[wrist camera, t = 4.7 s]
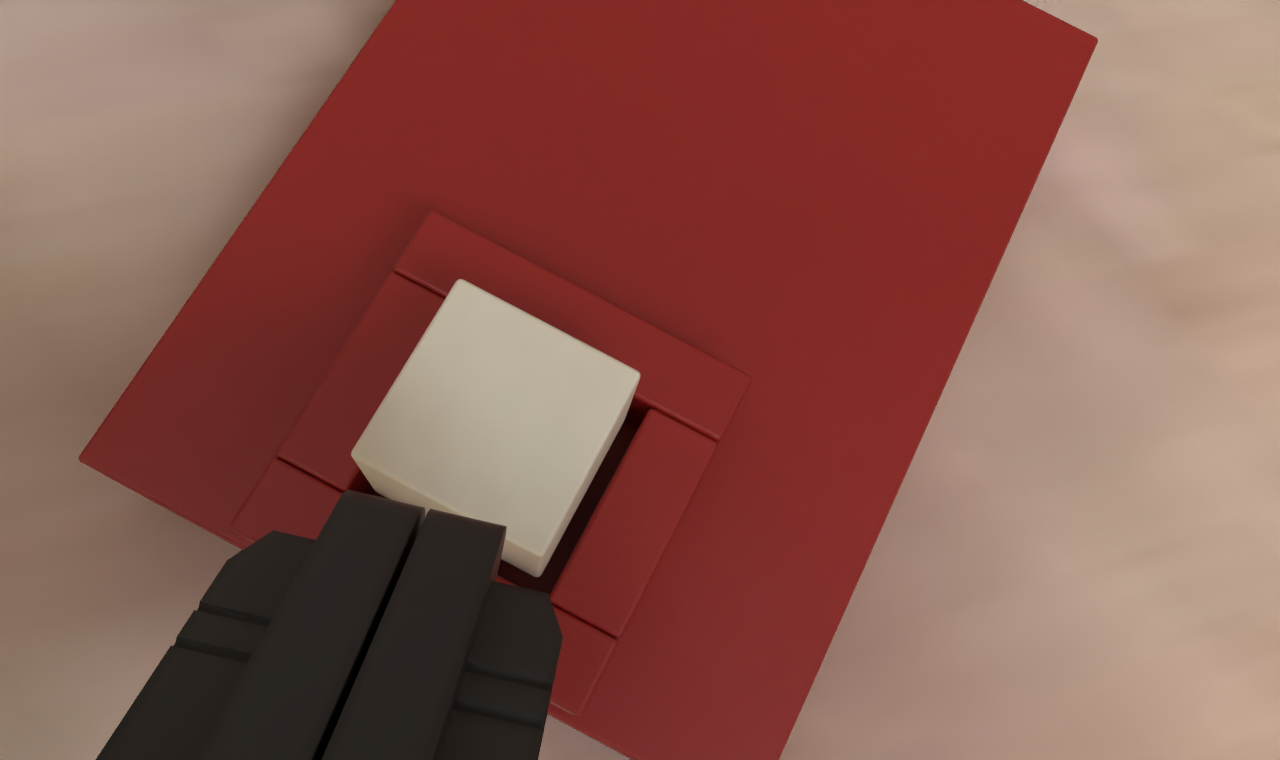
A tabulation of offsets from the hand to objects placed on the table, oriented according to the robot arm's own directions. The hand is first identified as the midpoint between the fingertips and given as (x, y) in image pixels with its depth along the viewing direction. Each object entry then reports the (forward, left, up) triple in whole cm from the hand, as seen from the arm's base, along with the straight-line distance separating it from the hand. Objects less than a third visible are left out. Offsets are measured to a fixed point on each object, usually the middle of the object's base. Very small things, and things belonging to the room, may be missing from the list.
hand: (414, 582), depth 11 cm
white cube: (-1, +3, -6) cm, 7 cm away
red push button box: (-1, +8, -11) cm, 13 cm away
